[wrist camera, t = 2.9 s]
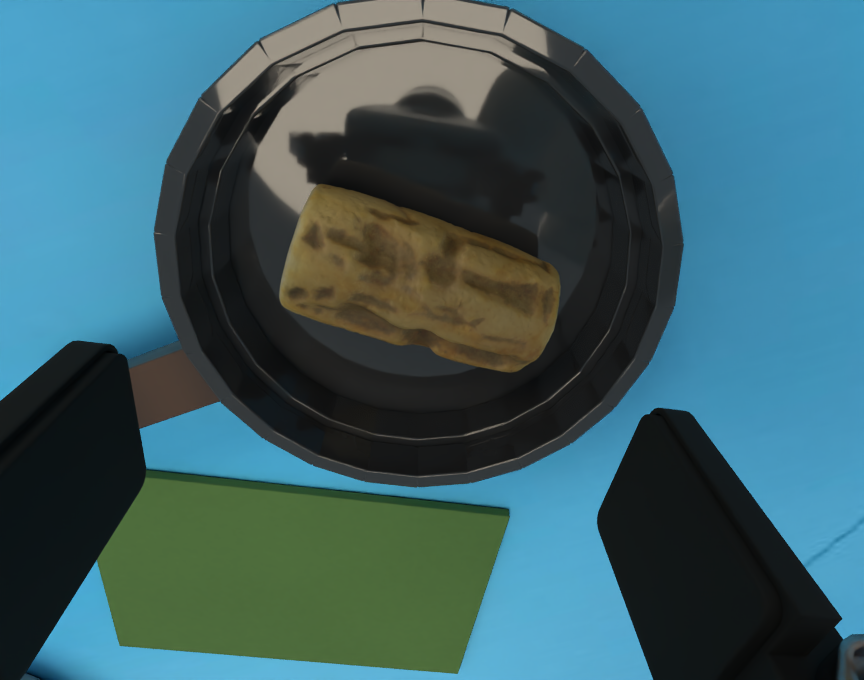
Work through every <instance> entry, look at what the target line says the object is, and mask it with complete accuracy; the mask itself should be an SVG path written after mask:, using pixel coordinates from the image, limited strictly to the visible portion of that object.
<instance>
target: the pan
mask: <svg viewBox="0 0 864 680" xmlns="http://www.w3.org/2000/svg"><path fill="white" fill-rule="evenodd" d="M672 174H673V172H672V170H671V167H670V165H669V163H668V161H667V159H666V157H665V155H664V153H663V151H662V149H661V147H660V145H659V143H658V140H657V138H656V136H655V134H654V132H653V130H652V128H651V126H650V124H649V122H648V120H647V118H646V115H645V113H644V111H643V109H642V108H640V105H639V104H638V103H637V102H636V100H635V99H634V98H633V97H632V96H631V95H630V94H629V93H628V92H627V91H626V90H625V89H624V88H623V87H622V86H621V85H620V84H619V83H618V81H617V80H616V79H615V78H614V77H613V76H612V75H611V74H610V73H609V72H608V71H607V70H606V69H605V68H604V67H603V66H602V65H601V64H600V62H599V61H598V60H597V59H596V58H595V57H594V56H593V55H592V54H591V53H590V52H589V51H588V50H587V49H584V47H583V46H581V45H579V44H577V43H575V42H574V41H572V40H570V39H568V38H566V37H564V36H563V35H561V34H559V33H557V32H555V31H553V30H552V29H550V28H548V27H546V26H544V25H542V24H541V23H539V22H537V21H535V20H533V19H531V18H530V17H528V16H526V15H524V14H522V13H520V12H519V11H517V10H515V9H509V7H507V6H502V5H497V4H492V3H486V2H481V1H476V0H349V1H341V2H337V3H336V4H334V3H332V4H330V5H328V6H326V7H324V8H322V9H320V10H318V11H316V12H314V13H312V14H310V15H308V16H306V17H303V18H301V19H299V20H297V21H295V22H293V23H291V24H289V25H287V26H285V27H283V28H281V29H279V30H277V31H275V32H272V33H270V34H268V35H266V36H264V37H262V38H260V39H259V41H256V42H255V43H254V44H253V45H252V46H251V47H250V48H249V49H248V50H247V51H246V52H245V53H244V54H243V55H242V56H240V57H239V58H238V59H237V60H236V61H235V62H234V63H233V64H232V65H231V66H230V67H229V68H228V69H227V70H226V71H225V72H224V73H223V74H222V75H221V76H220V77H219V78H218V79H217V80H216V81H215V82H214V83H213V84H212V85H211V86H210V87H209V88H208V89H207V90H206V91H205V92H203V93H202V95H201V97H200V98H199V99H198V101H197V103H196V105H195V107H194V108H193V110H192V112H191V114H190V116H189V118H188V120H187V122H186V124H185V126H184V128H183V130H182V132H181V133H180V135H179V137H178V139H177V141H176V143H175V145H174V147H173V149H172V151H171V153H170V155H169V157H168V158H167V161H166V165H165V169H164V175H163V180H162V186H161V192H160V198H159V204H158V209H157V215H156V221H155V227H154V231H155V232H154V240H155V249H156V257H157V265H158V273H159V282H160V290H161V296H162V300H163V302H164V305H165V307H166V310H167V312H168V314H169V317H170V319H171V322H172V324H173V327H174V329H175V331H176V334H177V336H178V339H179V341H180V344H181V346H182V349H183V351H184V353H185V354H186V356H187V357H188V359H189V360H190V361H191V363H192V364H193V365H194V367H195V368H196V370H197V371H198V372H199V374H200V375H201V376H202V378H203V379H204V380H205V382H206V383H207V384H208V386H209V387H210V389H211V390H212V391H213V393H214V394H215V395H216V397H217V398H218V399H219V400H220V401H221V403H222V404H223V405H224V406H226V407H227V408H228V409H229V410H230V411H231V412H233V413H234V414H235V415H236V416H237V417H238V418H240V419H241V420H242V421H243V422H244V423H245V424H247V425H248V426H249V427H250V428H251V429H252V430H254V431H255V432H256V433H257V434H258V435H259V436H261V437H262V438H264V439H265V440H267V441H269V442H270V443H272V444H274V445H276V446H278V447H279V448H281V449H283V450H285V451H287V452H289V453H290V454H292V455H294V456H296V457H298V458H300V459H301V460H303V461H305V462H307V463H309V464H311V465H312V464H313V466H316V467H319V468H322V469H325V470H328V471H332V472H335V473H338V474H341V475H345V476H348V477H351V478H354V479H357V480H361V481H365V482H371V483H380V484H389V485H398V486H407V487H417V486H418V487H429V486H441V485H454V484H467V483H470V482H471V483H474V482H477V481H481V480H484V479H488V478H492V477H495V476H499V475H502V474H506V473H509V472H513V471H517V470H520V469H522V468H525V467H527V466H529V465H531V464H533V463H535V462H537V461H539V460H541V459H543V458H545V457H547V456H548V455H550V454H552V453H554V452H556V451H558V450H560V449H562V448H564V447H566V446H568V445H570V444H571V443H573V442H574V441H576V440H577V439H578V438H579V437H580V436H582V435H583V434H584V433H585V432H587V431H588V430H589V429H590V428H591V427H593V426H594V425H595V424H596V423H598V422H599V421H600V420H601V419H603V418H604V417H605V416H606V415H607V414H609V413H610V412H611V411H612V410H613V409H614V407H616V406H617V405H618V404H619V402H620V401H621V400H622V398H623V397H624V396H625V394H626V393H627V392H628V391H629V389H630V388H631V387H632V385H633V384H634V383H635V381H636V380H637V379H638V378H639V376H640V375H641V374H642V372H643V371H644V370H645V369H646V367H647V366H648V365H649V362H650V361H651V360H652V358H653V355H654V353H655V351H656V348H657V346H658V344H659V341H660V339H661V337H662V335H663V332H664V330H665V328H666V325H667V323H668V321H669V318H670V316H671V314H672V312H673V309H674V306H675V302H676V295H677V288H678V281H679V274H680V267H681V260H682V253H683V246H684V244H683V235H682V228H681V221H680V214H679V207H678V201H677V194H676V187H675V180H674V176H673V175H672ZM319 184H326V185H331V186H334V187H341V188H344V189H347V190H353V191H356V192H360V193H363V194H366V195H369V196H372V197H375V198H378V199H382V200H385V201H387V202H389V203H392V204H394V205H396V206H398V207H404V208H409V209H411V210H415V211H417V212H421V213H424V214H427V215H428V216H432V217H435V218H438V219H441V220H443V221H445V222H447V223H451V224H452V225H454V226H458V227H461V228H464V229H466V230H468V231H470V232H475V233H478V234H481V235H484V236H487V237H490V238H493V239H495V240H498V241H500V242H503V243H505V244H508V245H510V246H512V247H514V248H517V249H519V250H521V251H523V252H525V253H527V254H529V255H532V256H533V257H536V258H538V259H540V260H542V261H545V262H547V263H550V264H551V265H552V266H553V267H554V268H555V269H556V270H557V272H558V274H559V278H560V285H561V288H560V297H559V307H558V312H557V319H556V323H555V327H554V331H553V333H552V335H551V337H550V339H549V341H548V342H547V344H546V346H545V348H544V350H543V352H542V353H541V355H540V356H539V357H538V358H537V360H535V361H533V362H531V363H529V364H528V365H526V366H524V367H523V368H522V369H521V370H519V371H516V372H501V371H497V370H492V369H488V368H482V367H476V366H472V365H468V364H464V363H460V362H457V361H453V360H450V359H446V358H443V357H440V356H438V355H436V354H435V353H434V352H433V351H432V350H431V348H429V347H425V346H421V345H414V344H411V345H403V346H400V345H394V344H390V343H388V342H385V341H382V340H379V339H376V338H372V337H369V336H366V335H362V334H359V333H357V332H351V331H348V330H346V329H343V328H340V327H335V326H333V325H328V324H324V323H321V322H319V321H316V320H313V319H311V318H308V317H306V316H302V315H300V314H296V313H294V312H292V311H290V310H288V309H286V308H284V307H283V306H282V304H281V302H280V298H279V292H280V284H281V279H282V274H283V270H284V266H285V262H286V258H287V254H288V251H289V248H290V244H291V241H292V238H293V235H294V232H295V229H296V226H297V223H298V220H299V217H300V214H301V212H302V210H303V207H304V205H305V203H306V201H307V199H308V197H309V195H310V193H311V192H312V190H313V189H314V188H315V187H316V186H317V185H319Z"/></svg>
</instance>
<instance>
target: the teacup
mask: <svg viewBox="0 0 864 680" xmlns="http://www.w3.org/2000/svg"><path fill="white" fill-rule="evenodd" d="M21 680H40V679H39V678H36V677H34V676H32V675H29V674H26V673H25V674H24V676H23V677H22V678H21Z"/></svg>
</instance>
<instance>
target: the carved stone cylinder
mask: <svg viewBox="0 0 864 680" xmlns="http://www.w3.org/2000/svg"><path fill="white" fill-rule="evenodd" d="M560 288H561V285H560V278H559V274H558V272H557V270H556V269H555V268H554V267H553V266H552V265H551V264H550V263H547V262H545V261H542V260H540V259H538V258H536V257H533V256H532V255H529V254H527V253H525V252H523V251H521V250H519V249H517V248H514V247H512V246H510V245H508V244H505V243H503V242H500V241H498V240H495V239H493V238H490V237H487V236H484V235H481V234H478V233H475V232H470V231H468V230H466V229H464V228H461V227H458V226H454V225H452V224H451V223H447V222H445V221H443V220H441V219H438V218H435V217H432V216H428V215H427V214H424V213H421V212H417V211H415V210H411V209H409V208H404V207H398V206H396V205H394V204H392V203H389V202H387V201H385V200H382V199H378V198H375V197H372V196H369V195H366V194H363V193H360V192H356V191H353V190H347V189H344V188H341V187H334V186H331V185H326V184H319V185H317V186H316V187H315V188H314V189H313V190H312V192H311V193H310V195H309V197H308V199H307V201H306V203H305V205H304V207H303V210H302V212H301V214H300V217H299V220H298V223H297V226H296V229H295V232H294V235H293V238H292V241H291V244H290V248H289V251H288V254H287V258H286V262H285V266H284V270H283V274H282V279H281V284H280V292H279V298H280V302H281V304H282V306H283V307H284V308H286V309H288V310H290V311H292V312H294V313H296V314H300V315H302V316H306V317H308V318H311V319H313V320H316V321H319V322H321V323H324V324H328V325H333V326H335V327H340V328H343V329H346V330H348V331H351V332H357V333H359V334H362V335H366V336H369V337H372V338H376V339H379V340H382V341H385V342H388V343H390V344H394V345H400V346H403V345H411V344H414V345H421V346H425V347H429V348H431V350H432V351H433V352H434V353H435V354H436V355H438V356H440V357H443V358H446V359H450V360H453V361H457V362H460V363H464V364H468V365H472V366H476V367H482V368H488V369H492V370H497V371H501V372H516V371H519V370H521V369H522V368H523V367H524V366H526V365H528V364H529V363H531V362H533V361H535V360H537V358H538V357H539V356H540V355H541V353H542V352H543V350H544V348H545V346H546V344H547V342H548V341H549V339H550V337H551V335H552V333H553V331H554V327H555V323H556V319H557V312H558V307H559V297H560Z"/></svg>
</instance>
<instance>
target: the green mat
mask: <svg viewBox="0 0 864 680" xmlns="http://www.w3.org/2000/svg"><path fill="white" fill-rule="evenodd" d="M509 517H510V516H509V510H508V509H501V508H492V507H483V506H474V505H464V504H455V503H446V502H437V501H428V500H418V499H409V498H400V497H391V496H382V495H373V494H363V493H354V492H345V491H336V490H327V489H317V488H308V487H299V486H290V485H281V484H271V483H262V482H253V481H244V480H235V479H226V478H216V477H207V476H198V475H189V474H180V473H170V472H161V471H152V470H146V477H145V481H144V484H143V487H142V488H141V490H140V492H139V494H138V495H137V497H136V498H135V500H134V502H133V503H132V505H131V506H130V508H129V509H128V511H127V513H126V514H125V516H124V517H123V519H122V521H121V522H120V524H119V525H118V527H117V529H116V530H115V532H114V533H113V535H112V536H111V538H110V540H109V541H108V543H107V544H106V546H105V548H104V549H103V551H102V552H101V554H100V555H99V557H98V559H97V562H98V566H99V570H100V574H101V577H102V581H103V585H104V589H105V592H106V596H107V600H108V604H109V607H110V611H111V615H112V619H113V622H114V626H115V630H116V634H117V637H118V641H119V645H120V646H128V647H140V648H152V649H164V650H176V651H188V652H200V653H212V654H224V655H237V656H249V657H261V658H273V659H285V660H297V661H309V662H321V663H333V664H345V665H358V666H370V667H382V668H394V669H406V670H418V671H430V672H442V673H454V674H458V671H459V668H460V665H461V662H462V659H463V656H464V653H465V650H466V647H467V644H468V641H469V638H470V635H471V632H472V629H473V626H474V623H475V620H476V617H477V614H478V611H479V608H480V605H481V602H482V599H483V596H484V593H485V590H486V587H487V584H488V581H489V578H490V575H491V572H492V569H493V566H494V563H495V560H496V557H497V554H498V551H499V548H500V545H501V542H502V539H503V536H504V533H505V530H506V527H507V524H508V520H509Z"/></svg>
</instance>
